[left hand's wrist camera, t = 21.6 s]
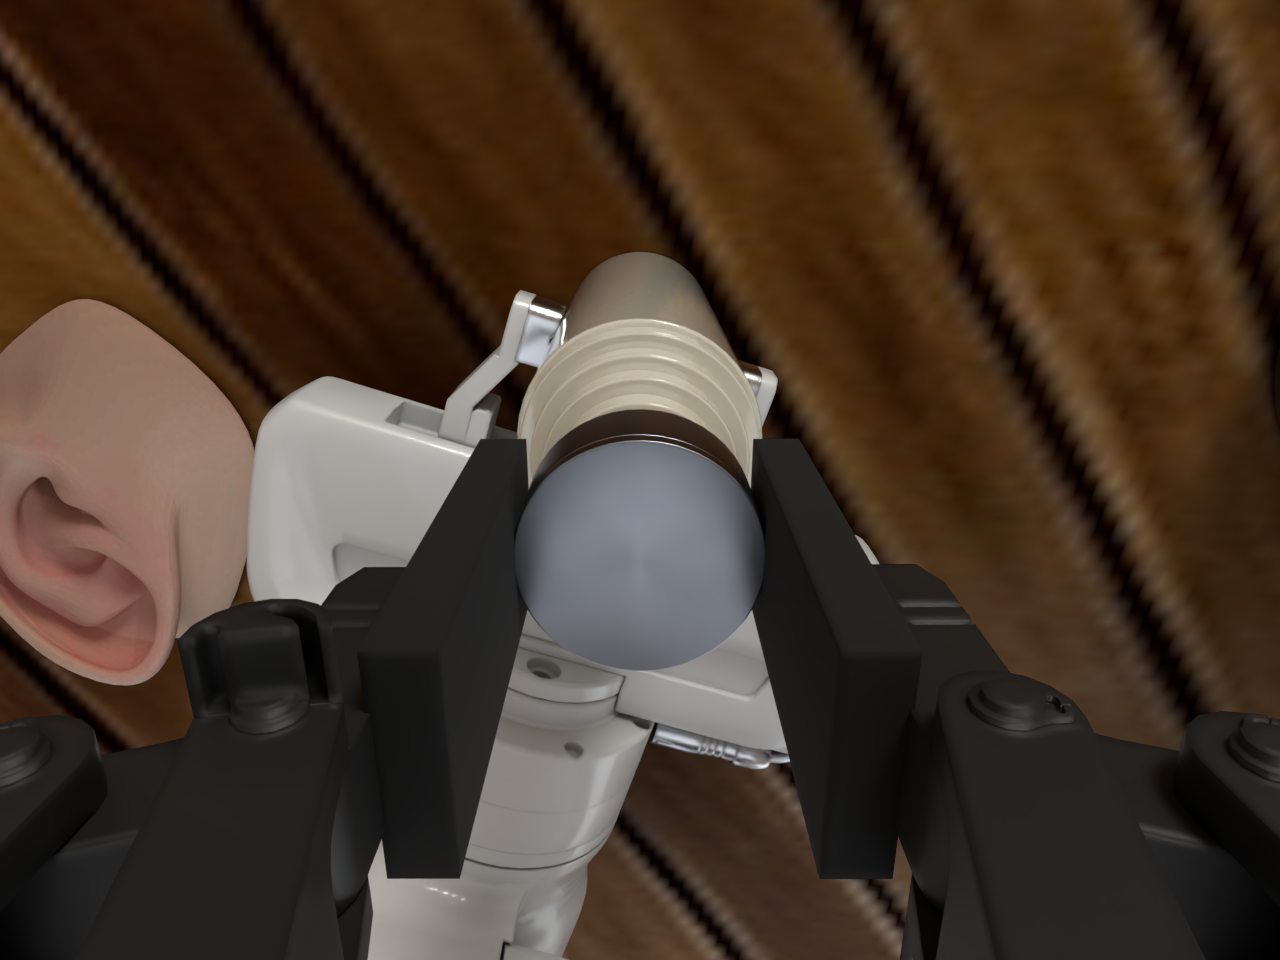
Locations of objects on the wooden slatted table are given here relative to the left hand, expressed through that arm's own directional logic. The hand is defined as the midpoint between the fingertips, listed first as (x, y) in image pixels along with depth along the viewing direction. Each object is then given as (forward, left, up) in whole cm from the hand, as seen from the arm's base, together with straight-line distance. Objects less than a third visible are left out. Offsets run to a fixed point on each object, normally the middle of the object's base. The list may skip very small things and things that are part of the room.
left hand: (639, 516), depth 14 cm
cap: (0, 0, +1) cm, 1 cm away
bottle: (0, 0, -19) cm, 19 cm away
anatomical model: (+7, +20, -18) cm, 28 cm away
